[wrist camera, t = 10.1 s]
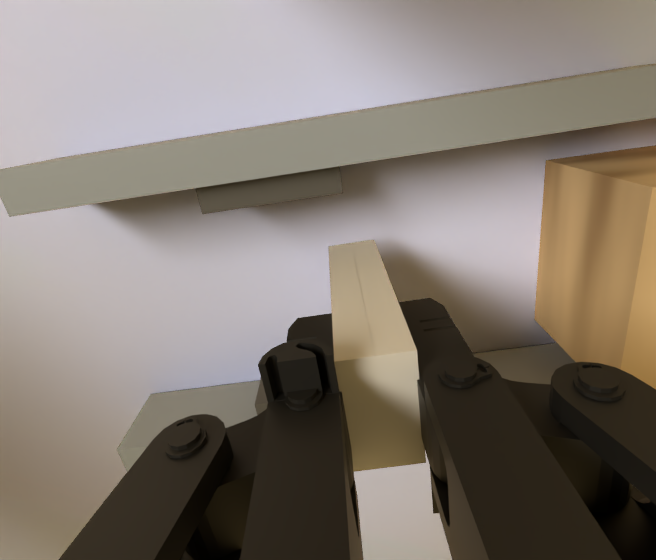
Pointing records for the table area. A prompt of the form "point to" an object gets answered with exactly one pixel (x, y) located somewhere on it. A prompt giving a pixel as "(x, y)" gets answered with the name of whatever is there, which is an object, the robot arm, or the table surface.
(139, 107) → the table surface
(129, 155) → the chute
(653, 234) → the oak block
